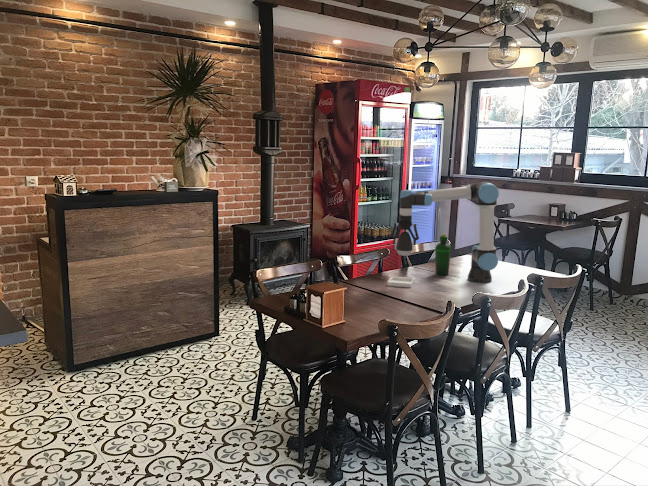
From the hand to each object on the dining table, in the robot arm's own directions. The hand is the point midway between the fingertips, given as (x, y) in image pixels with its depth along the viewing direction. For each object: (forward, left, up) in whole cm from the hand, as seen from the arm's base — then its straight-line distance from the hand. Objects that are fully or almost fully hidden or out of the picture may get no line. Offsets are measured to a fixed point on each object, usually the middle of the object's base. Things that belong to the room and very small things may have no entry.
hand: (404, 249), depth 330 cm
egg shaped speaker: (0, 0, -3) cm, 3 cm away
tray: (+1, 0, -22) cm, 22 cm away
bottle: (-21, -34, -23) cm, 46 cm away
